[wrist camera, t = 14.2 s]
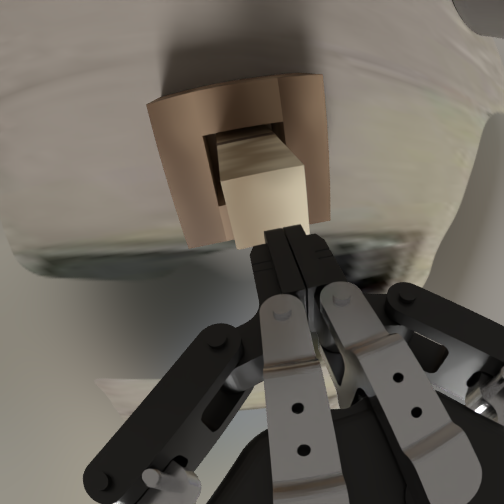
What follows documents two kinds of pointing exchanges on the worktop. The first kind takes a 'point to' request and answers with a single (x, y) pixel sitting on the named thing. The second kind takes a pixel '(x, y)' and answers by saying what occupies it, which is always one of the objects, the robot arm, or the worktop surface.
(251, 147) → the birch peg
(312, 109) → the walnut block
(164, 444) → the robot arm
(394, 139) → the worktop surface
